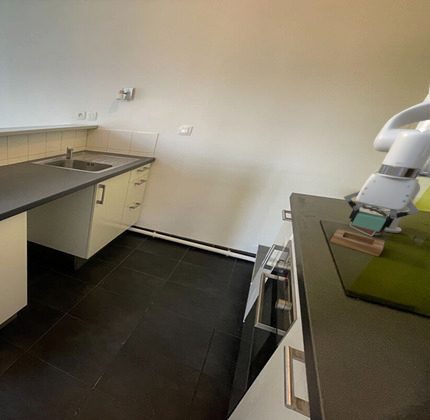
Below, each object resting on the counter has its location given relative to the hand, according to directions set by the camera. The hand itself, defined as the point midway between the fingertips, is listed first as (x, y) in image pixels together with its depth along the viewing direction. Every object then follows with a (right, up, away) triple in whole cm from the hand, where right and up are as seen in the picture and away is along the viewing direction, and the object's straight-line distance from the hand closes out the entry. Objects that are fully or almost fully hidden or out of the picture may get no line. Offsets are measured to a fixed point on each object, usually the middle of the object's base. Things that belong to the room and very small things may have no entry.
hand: (366, 224), depth 82 cm
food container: (+19, -4, +14) cm, 24 cm away
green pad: (0, -1, 0) cm, 1 cm away
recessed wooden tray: (0, -7, +3) cm, 8 cm away
